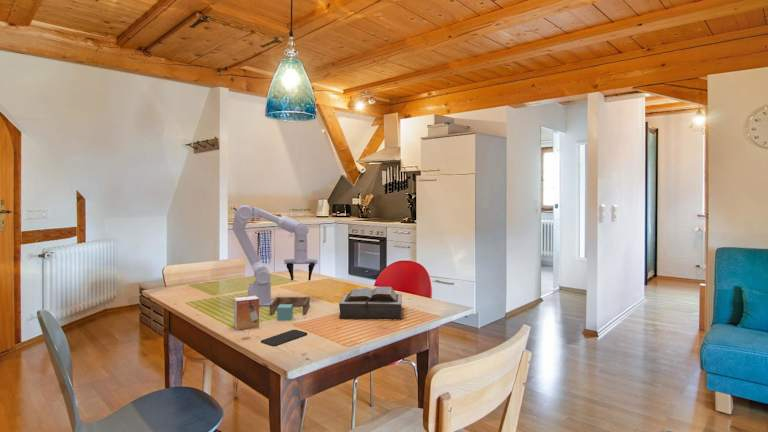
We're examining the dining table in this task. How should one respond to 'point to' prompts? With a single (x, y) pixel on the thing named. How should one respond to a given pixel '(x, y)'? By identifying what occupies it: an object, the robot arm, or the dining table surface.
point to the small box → (246, 312)
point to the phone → (284, 337)
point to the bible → (371, 304)
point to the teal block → (284, 312)
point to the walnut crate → (295, 301)
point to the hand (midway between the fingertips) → (300, 280)
